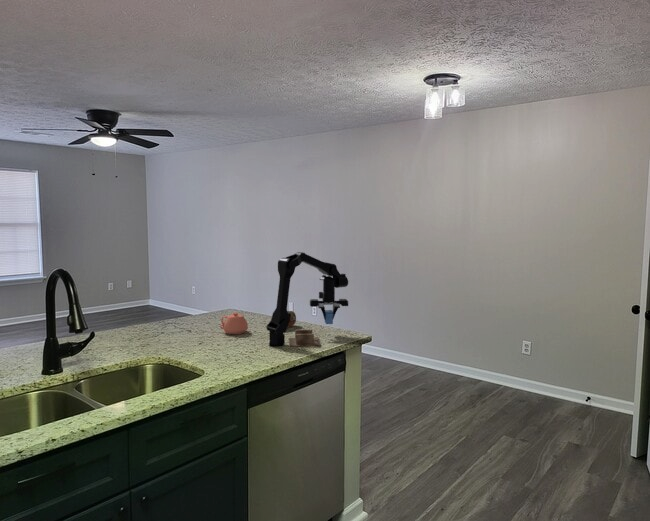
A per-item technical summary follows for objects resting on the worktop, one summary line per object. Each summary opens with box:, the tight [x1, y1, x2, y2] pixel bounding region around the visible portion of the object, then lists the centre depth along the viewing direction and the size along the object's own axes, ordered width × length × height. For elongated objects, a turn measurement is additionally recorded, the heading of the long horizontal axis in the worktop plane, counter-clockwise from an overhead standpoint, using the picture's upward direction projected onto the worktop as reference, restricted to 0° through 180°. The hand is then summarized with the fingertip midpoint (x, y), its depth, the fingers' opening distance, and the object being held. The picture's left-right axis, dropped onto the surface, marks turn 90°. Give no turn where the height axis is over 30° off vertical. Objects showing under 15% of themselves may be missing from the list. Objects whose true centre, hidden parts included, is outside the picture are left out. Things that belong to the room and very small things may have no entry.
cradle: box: [288, 328, 322, 348], centre depth 215 cm, size 14×14×5 cm
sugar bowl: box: [219, 312, 249, 335], centre depth 233 cm, size 12×14×10 cm
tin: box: [287, 310, 297, 329], centre depth 245 cm, size 15×3×8 cm, turn 143°
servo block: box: [324, 309, 334, 325], centre depth 229 cm, size 3×9×6 cm, turn 7°
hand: (328, 319), depth 229 cm, fingers closed on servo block, 3 cm apart
